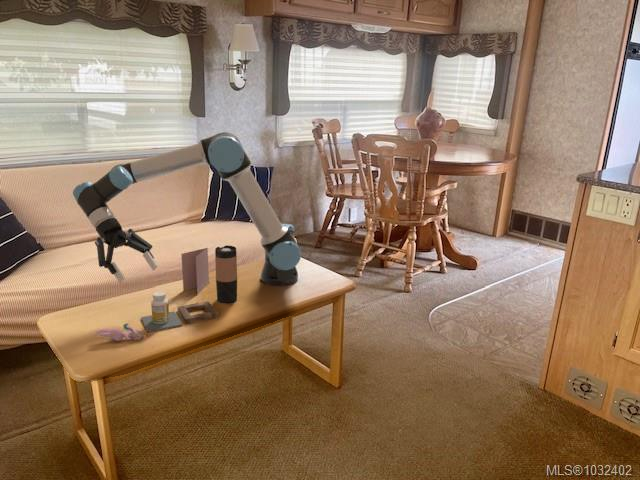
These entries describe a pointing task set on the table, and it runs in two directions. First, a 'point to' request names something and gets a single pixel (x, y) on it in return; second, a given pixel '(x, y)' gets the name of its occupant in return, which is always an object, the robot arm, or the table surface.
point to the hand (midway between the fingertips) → (139, 274)
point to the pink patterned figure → (121, 333)
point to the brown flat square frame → (198, 317)
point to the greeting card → (195, 269)
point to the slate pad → (153, 326)
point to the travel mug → (226, 274)
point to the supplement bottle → (160, 308)
